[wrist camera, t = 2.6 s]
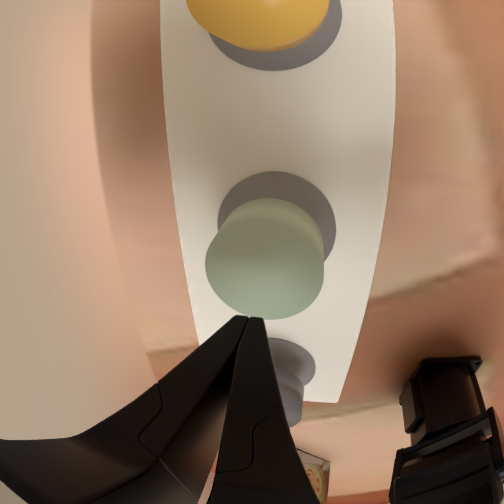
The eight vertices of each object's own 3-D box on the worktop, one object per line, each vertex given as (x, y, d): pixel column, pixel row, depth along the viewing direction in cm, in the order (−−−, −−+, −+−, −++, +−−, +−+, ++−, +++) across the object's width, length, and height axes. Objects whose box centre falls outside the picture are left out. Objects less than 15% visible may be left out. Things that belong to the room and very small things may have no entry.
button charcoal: (308, 365, 17) (304, 398, 15) (301, 403, 19) (297, 432, 17) (234, 357, 17) (223, 388, 15) (238, 396, 20) (230, 424, 18)
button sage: (327, 197, 12) (329, 222, 10) (319, 288, 14) (317, 324, 12) (218, 192, 12) (198, 215, 10) (226, 280, 15) (211, 313, 13)
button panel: (374, -31, 9) (385, -55, 6) (337, 373, 23) (337, 404, 20) (185, -25, 11) (159, -43, 8) (219, 360, 25) (208, 389, 22)
